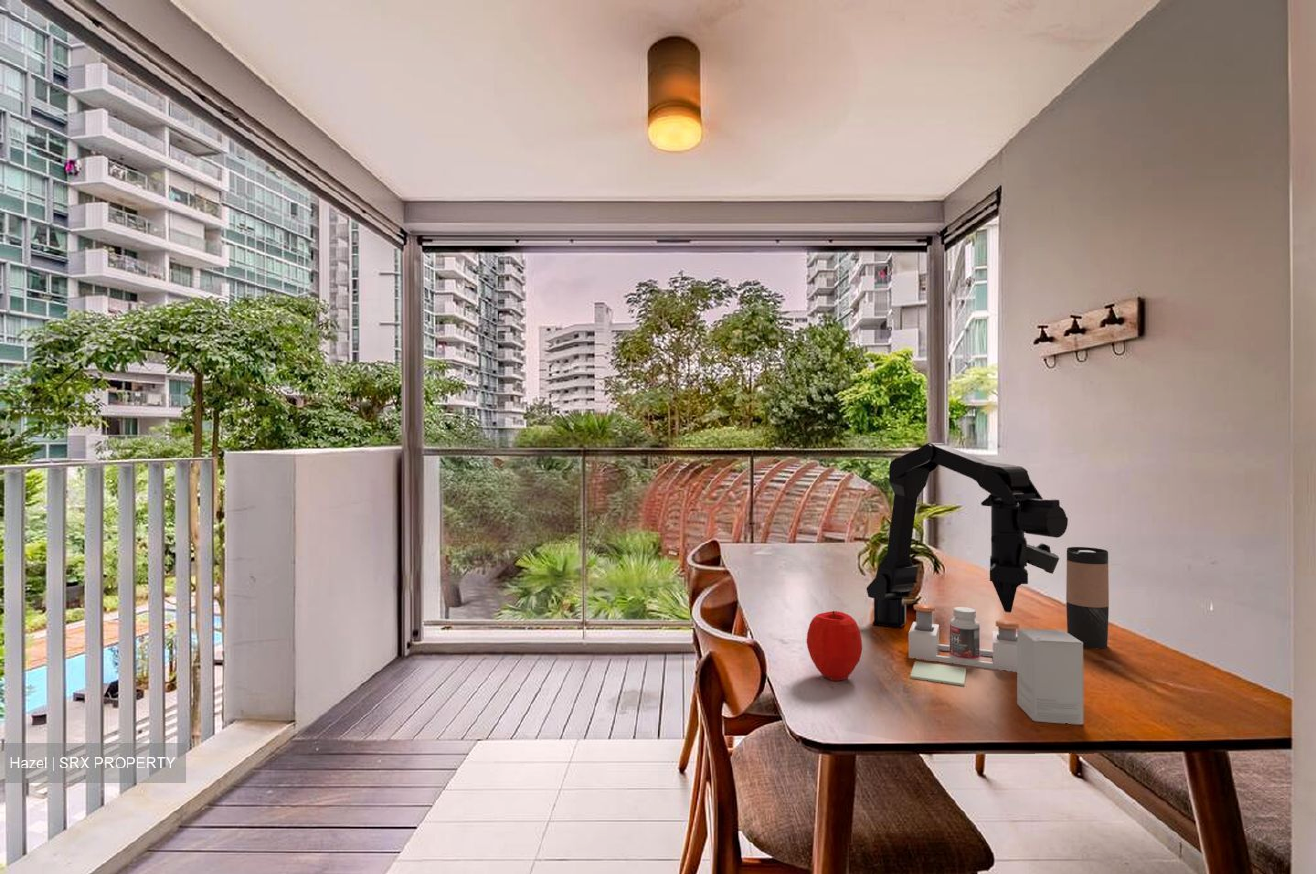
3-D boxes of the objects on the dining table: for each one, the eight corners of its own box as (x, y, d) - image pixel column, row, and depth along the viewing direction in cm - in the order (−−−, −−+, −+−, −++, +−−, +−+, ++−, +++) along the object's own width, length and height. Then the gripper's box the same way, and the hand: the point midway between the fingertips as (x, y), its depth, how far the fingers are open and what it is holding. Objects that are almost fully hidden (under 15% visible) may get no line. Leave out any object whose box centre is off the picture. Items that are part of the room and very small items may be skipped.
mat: (910, 678, 124) (910, 675, 124) (915, 663, 132) (915, 661, 132) (964, 686, 120) (964, 683, 120) (966, 670, 128) (966, 668, 128)
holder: (908, 657, 135) (908, 632, 135) (913, 645, 144) (913, 621, 144) (1022, 673, 127) (1022, 646, 127) (1020, 659, 135) (1020, 633, 135)
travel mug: (1105, 641, 147) (1105, 548, 147) (1112, 651, 140) (1111, 553, 140) (1064, 637, 150) (1064, 545, 150) (1068, 646, 143) (1068, 551, 143)
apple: (813, 665, 131) (813, 601, 131) (866, 672, 127) (866, 607, 127) (800, 681, 122) (800, 613, 122) (857, 690, 118) (857, 620, 118)
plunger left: (912, 632, 138) (912, 607, 138) (914, 627, 141) (914, 603, 141) (934, 634, 136) (934, 609, 136) (935, 629, 139) (935, 605, 139)
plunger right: (995, 650, 131) (995, 624, 131) (995, 644, 134) (995, 619, 134) (1019, 653, 129) (1019, 627, 129) (1018, 647, 133) (1018, 622, 133)
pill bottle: (946, 659, 135) (946, 609, 135) (954, 652, 139) (954, 604, 139) (975, 665, 131) (975, 614, 131) (983, 658, 135) (983, 608, 135)
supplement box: (1085, 725, 104) (1085, 642, 104) (1032, 722, 105) (1032, 640, 105) (1065, 707, 111) (1064, 629, 111) (1015, 703, 112) (1015, 627, 112)
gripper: (1060, 540, 120) (1060, 629, 120) (1051, 527, 137) (1052, 605, 137) (989, 536, 125) (989, 621, 125) (990, 524, 142) (990, 600, 141)
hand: (1007, 611), depth 132 cm, fingers closed
